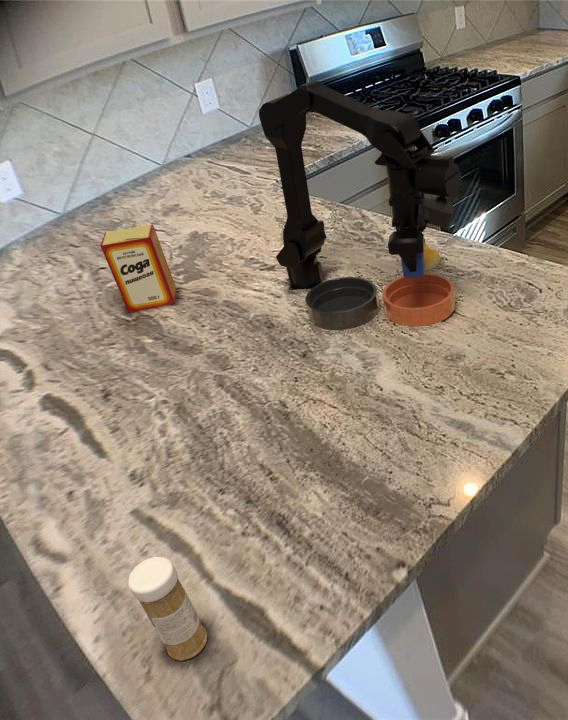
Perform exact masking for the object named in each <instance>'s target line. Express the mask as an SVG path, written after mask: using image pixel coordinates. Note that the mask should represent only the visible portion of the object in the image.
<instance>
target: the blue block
mask: <svg viewBox="0 0 568 720" xmlns="http://www.w3.org/2000/svg"><path fill="white" fill-rule="evenodd" d="M400 260H402V259H401V258H400ZM401 266H402V267H401V268H402V276H404V278H412V277H424V274H425V273H426V270H425V260H424V252H423V253H421V254H417V265H416V272H410V271H409V269H408V268H407V266H406V265H405V263H404V262H403V260H402V261H401Z"/></svg>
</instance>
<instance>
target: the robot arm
mask: <svg viewBox="0 0 568 720" xmlns="http://www.w3.org/2000/svg"><path fill="white" fill-rule="evenodd" d="M311 111H312V112H314V113H316V114H319V115H320V116H322V117H324V118H327V119H329V120H332V121H333V122H335V123H337V124H340V125H342V126H344V127H345V128H346V127H347V128H348V129H350V130H352V131H355V132H357V133H359V134H361V135H362V136H363V137H365V138H366V139H367V141H368V142H369V144H370V145H371V146H372V147H373V148H374V149H376V150H378V151H379V152H380V153H381V154H380V155H379V157H378V158H376V160H375V161H374V164H375V165H376V166H382V167H385V169H386V176H387V177H386V178H387V184H388V185H387V186H388V192H389V198H388V206H389V207H391V216H392V219H391V228H395V230H393V232H391V234H390V235H389V237H388V242H387V249H388V254H389V255H390V256H399V257H400V260H401V259H402V260H403V262H404V263H405V265H406V266H407V268H408V269H409V271H410V272H416V265H417V254H421V253H423V252H424V245H426V244H425V243H426V238H425V234H424V233H423V232H424V231H425V230H426V229H427V227H428V225H432V226H435V227H440V228H441V229H443V230H448V229H450V226H451V223H452V219H453V217H454V213H455V207H454V205H453V203H452V202H449V198H454V197H456V196H457V194H458V193H459V190H460V188H461V183H462V172H461V171H460V167H459V166H458V165H457V163H454V162H455V161H454V156H453V155H435V154H434V153H435V151H436V150H435V149H434V147H433V146H432V144H431V143H430V141H429V140H428V139H427V137H426V136H425V134H424V133H423V132H422V131H423V130H422V129H421V128H420V126H419V124H418V120H417V119H416V118H415V117H414V116H412V115H411V114H408V113H404V112H400V111H397V110H384V109H378V108H374V107H372V106H369V105H367V104H365V103H363V102H361V101H358V100H356V99H355V98H352V97H350V96H348V95H345V94H343V93H341V92H339V91H336V90H334V89H332V88H331V87H328V86H326V85H324V83H323V82H321V81H318V80H311V81H308V82H306V83H304V84H300V85H299V86H297V88H296V89H295V90H293V91H292V92H290V93H286V94H284V95H282V96H278V97H276V98H274V99H271V100H269V101H266V102H265V103H262V105H261V106H260V108H258V118H259V123H260V125H261V127H262V131H263V134H264V137H265V138H266V139H267V140H268V141H269V143H270V144H271V145H272V146H273V147H274V151H275V156H276V161H277V167H278V172H279V178H280V184H281V189H282V194H283V200H284V206H285V211H286V219H285V224H284V227H283V230H282V242H283V243H282V245H283V247H282V248H281V249H280V251H279V252H278V253H277V255H276V256H275V258H276V260H277V262H278V265H279V266H281V267H284V268H286V272H287V277H288V281H289V284H290V285H289V287H288V290H289V291H297V290H298V291H299V290H311V289H312V288H313V287H315V286H316V285H318V284H320V283H322V282H324V273H323V268H322V263H321V261H319V260H318V254H321V253H322V248H323V246H324V245H325V242H326V241H325V240H326V239H327V238H328V236H327V234H326V231H325V223H324V221H323V220H318V218H317V217H316V216H315V215H314V214H313V212H312V206H311V205H312V204H311V199H310V192H309V188H308V187H309V186H308V180H307V179H308V178H307V174H306V167H305V161H304V155H303V154H304V153H303V148H302V147H303V146H302V144H303V140H304V137H305V134H306V132H307V131H306V130H307V114H308V113H310V112H311ZM414 147H415V148H416V149H415V150H413V151H411V152H409V153H408V151H409V150H411V149H412V148H414ZM425 195H433V196H434V197H433V196H431V197H430V198H428V197H425Z"/></svg>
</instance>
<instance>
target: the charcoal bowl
mask: <svg viewBox="0 0 568 720" xmlns="http://www.w3.org/2000/svg"><path fill="white" fill-rule="evenodd" d="M379 299H380V298H379V293H378V288H377V287H376V284H374V283H373V282H372V281H371V280H369V279H366V278H363V277H359V276H358V277H357V276H341V277H340V276H339V277H335V278H331V279H328V280H324V281H322V283H320V284H318V285H316V286H315V287H313V288H312V289H309V291H308V292H307V293H306V295H305V298H304V300H305V304H306V309H307V313H308V317H309V321H310V322H311V324H313V325H314V326H315V327H318V328H321V329H323V330H331V331H340V330H342V331H343V330H349V329H353V328H357V327H359V326H362V325H365V324H366V323H368V322H370V321H371V320H372V319H374V318H375V317H376V316H377V314H378V313H379V310H380V300H379Z"/></svg>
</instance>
